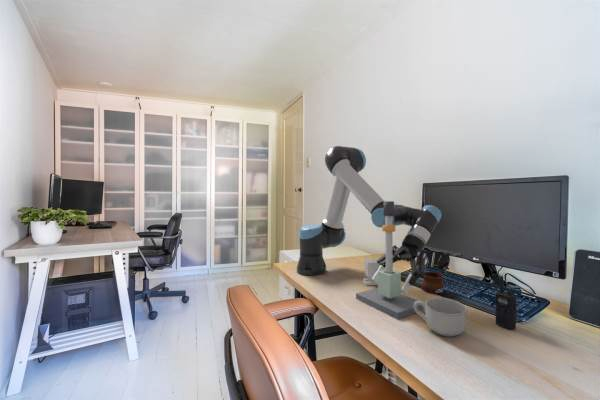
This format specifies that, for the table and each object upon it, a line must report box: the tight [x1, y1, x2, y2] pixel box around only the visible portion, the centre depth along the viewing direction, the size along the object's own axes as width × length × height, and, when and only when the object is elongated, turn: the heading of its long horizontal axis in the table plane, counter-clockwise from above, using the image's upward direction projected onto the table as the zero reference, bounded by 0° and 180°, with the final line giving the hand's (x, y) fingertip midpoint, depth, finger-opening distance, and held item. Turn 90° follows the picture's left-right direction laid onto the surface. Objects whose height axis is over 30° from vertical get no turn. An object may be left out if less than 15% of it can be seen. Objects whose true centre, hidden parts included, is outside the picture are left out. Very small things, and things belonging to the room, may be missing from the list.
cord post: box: [355, 200, 425, 320], centre depth 102 cm, size 20×14×37 cm
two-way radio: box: [494, 275, 518, 330], centre depth 84 cm, size 6×4×15 cm
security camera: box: [362, 258, 379, 286], centre depth 125 cm, size 6×7×10 cm
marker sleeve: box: [377, 269, 402, 298], centre depth 102 cm, size 6×6×8 cm
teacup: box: [413, 296, 468, 338], centre depth 83 cm, size 14×11×8 cm
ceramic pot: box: [420, 271, 446, 294], centre depth 115 cm, size 18×18×7 cm
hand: (388, 286), depth 101 cm, fingers open, 13 cm apart
